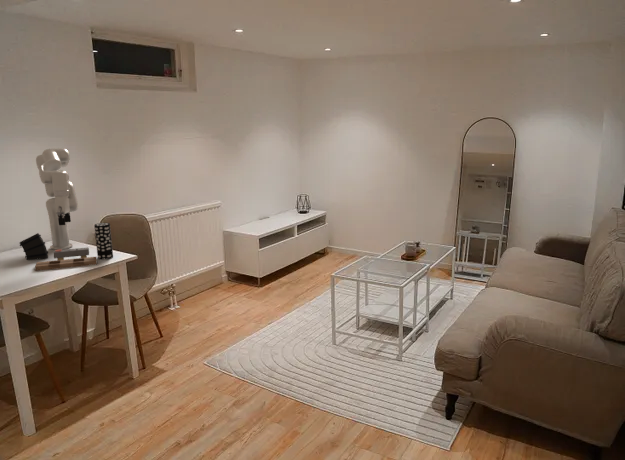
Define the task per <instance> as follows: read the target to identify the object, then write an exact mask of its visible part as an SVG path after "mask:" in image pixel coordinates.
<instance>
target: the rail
mask: <svg viewBox="0 0 625 460" xmlns="http://www.w3.org/2000/svg"><path fill="white" fill-rule="evenodd" d="M97 264H98V257H97V256H90V257H89V256H88V257H87V258H81V257H79V258H68V259H64V260H57V259H56V260H48V261H39V262H38V261H37V262H36V264H35V265H34V268H35V272H39V271H47V270H57V269H68V268H76V267H87V266H96V265H97Z"/></svg>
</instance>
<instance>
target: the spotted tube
mask: <svg viewBox="0 0 625 460" xmlns="http://www.w3.org/2000/svg"><path fill="white" fill-rule="evenodd" d="M111 232H112V231H111V224H110V222H99V223H95V224H94V235H95V243H96V244H95V245H96V254H97V260H102V261H103V260H109V259H110V260H111V259H112V258H113V257H114V253H113V251H114V250H113V243H112V233H111Z"/></svg>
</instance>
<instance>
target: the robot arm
mask: <svg viewBox="0 0 625 460" xmlns="http://www.w3.org/2000/svg"><path fill="white" fill-rule="evenodd" d="M70 159H71V158H70V152H69V151H68V150H67V149H66V148H63V147H61V148H59V147H58V148H47V149H45V150H43V151H42V153H41V154H39V155H37V156H36V157H35V163H36V166H37V169H38V175H39V179H40V182H41V183H42V184H44V188H45V193H46V195H47V196H48V197H49V199H47V200H46V201H45V207H46V210H47V211H46V212H47V215H48V219H49V220H48V221H49V227H50V228H49V229H50V233H51V243H52V245H50V246H49V249H51V250H53V251H54V250H60V249H62V250H65V249H72V247H73V243H70V237H69V226H68V223H71V222H72V221H71V213H73V212H76V211H78V209H79V205H78V199H77V195H76V194H77V193H76V190H75V186H74V184H73V182H71V181H70V176H69V173H68V172H67V171H66V170H63V169H61V168H64V167H68V165H69V163H70Z"/></svg>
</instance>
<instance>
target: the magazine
mask: <svg viewBox="0 0 625 460" xmlns="http://www.w3.org/2000/svg"><path fill="white" fill-rule="evenodd" d="M41 236H42V235H41V234H40V233H39V232H37V233H35V234H34V235H31V236H29V237H28V238H25V239H23V240H21V241H20V242H19V246H20V247H21V248H22V249H23V253H25V257H24V258H25V259H26V261H30V260H31V261H32V260H35V261H36V260H47V259H48V258H49V256H48V255H49V251H48V250H47V249H48V248H47V246H46V241H44V240H43V238H42V237H41Z"/></svg>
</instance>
